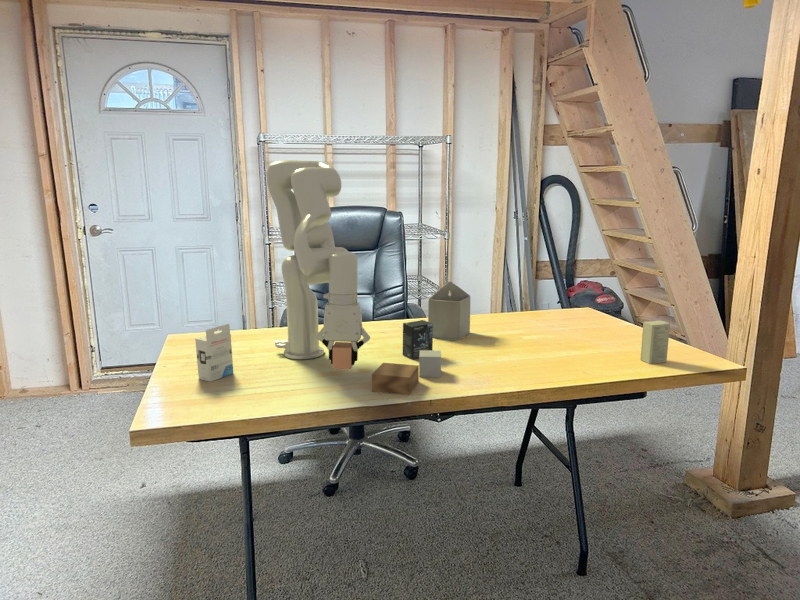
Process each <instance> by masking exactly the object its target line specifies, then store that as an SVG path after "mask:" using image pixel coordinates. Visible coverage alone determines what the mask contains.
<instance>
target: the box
mask: <svg viewBox="0 0 800 600" xmlns="http://www.w3.org/2000/svg"><path fill="white" fill-rule="evenodd" d="M433 339H434V338H433V323H430V322H428V320H424V319H420V320H414V321H409V322H403V323H402V356H404V357H406V358H408V359H410V360H415V359H419V354H420V350H432V351H433Z"/></svg>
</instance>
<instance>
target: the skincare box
mask: <svg viewBox="0 0 800 600" xmlns="http://www.w3.org/2000/svg"><path fill="white" fill-rule="evenodd" d="M642 325H643V326H642V336H641V337H642V338H641V347H640V361H642V362H644V363H646V364H648V365H652V364H662V363H667V362H668V350H669V349H668V348H669V341H670V340H669V338H670V326H671V323H669V322H667V321H663V320H661V319H660V320H658V319H657V320H649V321H643V324H642Z"/></svg>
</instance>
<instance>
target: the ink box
mask: <svg viewBox="0 0 800 600" xmlns="http://www.w3.org/2000/svg"><path fill="white" fill-rule="evenodd" d="M194 341H195V348H196V349H195V351H196V353H195V354H196V362H197V363H196V364H197V375H198V380H202V381H206V382H208V383H209V382H211V383H212V382H214V381H216V380H218V379H219V380H220V379H222V378H224V377H227V376H230V375H232V374H234V363H233V362H234V361H233V349H232V347H233V346H232V334H231V327H230V324H229V323H226V324H223V325H218V326H215V327H212V328H207V329H206V330H205V335H204V336H201V337H196V338H195V339H194Z"/></svg>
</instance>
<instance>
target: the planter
mask: <svg viewBox="0 0 800 600" xmlns="http://www.w3.org/2000/svg"><path fill="white" fill-rule="evenodd" d="M449 294H450V295H449ZM427 302H428V303H427V307H428V309H427V310H428V311H427V314H428V315H427V322H430V323H433V339H441V340H450V341H451V340H453V341H460V340H461V339H463V338H465V337H467V336H468V335H469V334H470V333H471V295H470V294H469V293H467V292H466V291H465V290H463V289H462V288H461V287H459V286H458V285H457V284H455V283H453V282H452V281H450V280H449V281H448V282H446V283H445V284H444V285H442V287H440V288H439V289H438V290H437V291H435V293H433V294H432V295H431V296H430V297H429V298H428V301H427Z"/></svg>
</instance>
